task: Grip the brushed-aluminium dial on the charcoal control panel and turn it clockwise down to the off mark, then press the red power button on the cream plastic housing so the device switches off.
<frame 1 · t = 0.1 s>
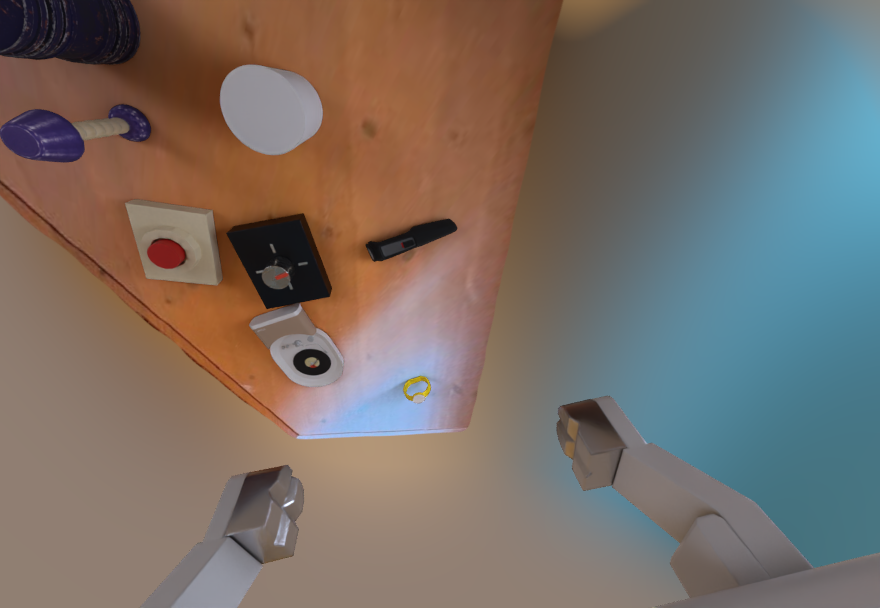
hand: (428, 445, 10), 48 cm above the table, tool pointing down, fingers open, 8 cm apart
dial: (278, 273, 52), point 5 cm above the table, hinge at 100.0°
white round cylinder: (291, 107, 45), on the table
toy lamp: (135, 124, 43), on the table
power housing: (182, 242, 52), on the table
watch: (415, 378, 75), on the table
electric trimmer: (408, 235, 57), on the table
record player: (304, 347, 66), on the table
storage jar: (90, 12, 37), on the table
control panel: (286, 259, 56), on the table
power button: (166, 254, 48), point 4 cm above the table, slide at 0.1 cm
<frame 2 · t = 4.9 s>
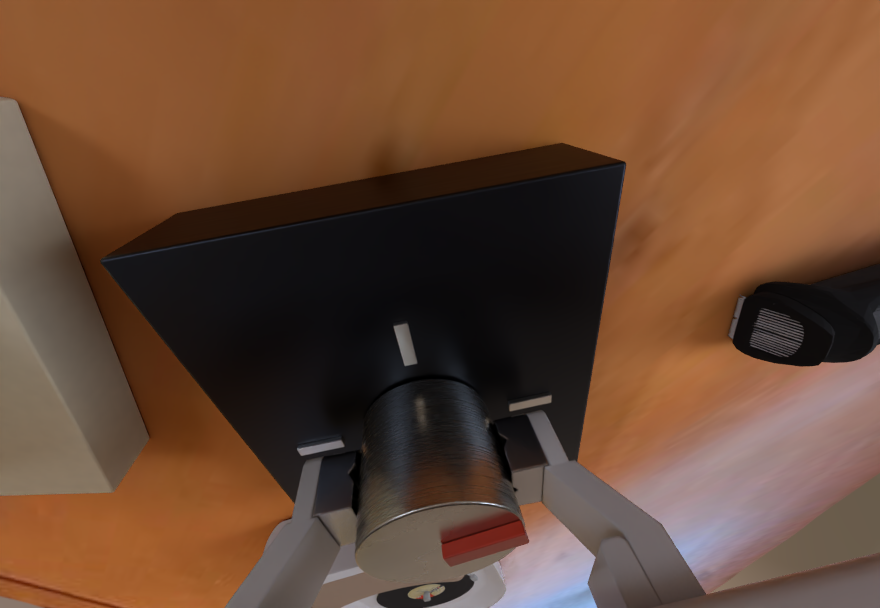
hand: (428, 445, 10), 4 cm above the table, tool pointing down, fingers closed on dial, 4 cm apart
dial: (434, 481, 9), point 5 cm above the table, hinge at 100.0°, touching gripper
record player: (410, 559, 24), on the table
control panel: (418, 358, 13), on the table
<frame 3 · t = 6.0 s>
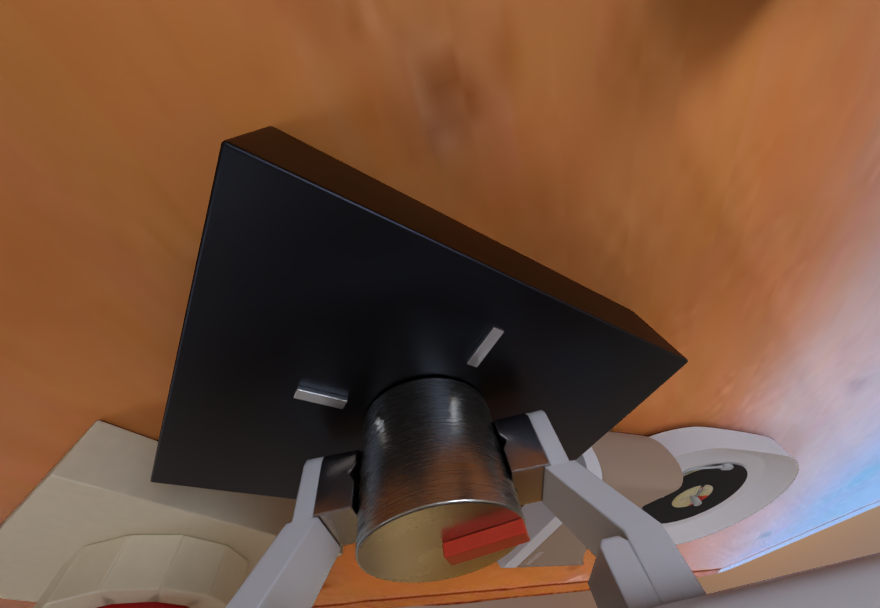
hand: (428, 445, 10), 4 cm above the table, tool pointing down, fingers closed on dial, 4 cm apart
dial: (434, 480, 9), point 5 cm above the table, hinge at 47.5°, touching gripper
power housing: (188, 518, 17), on the table
record player: (644, 478, 22), on the table
control panel: (418, 357, 13), on the table
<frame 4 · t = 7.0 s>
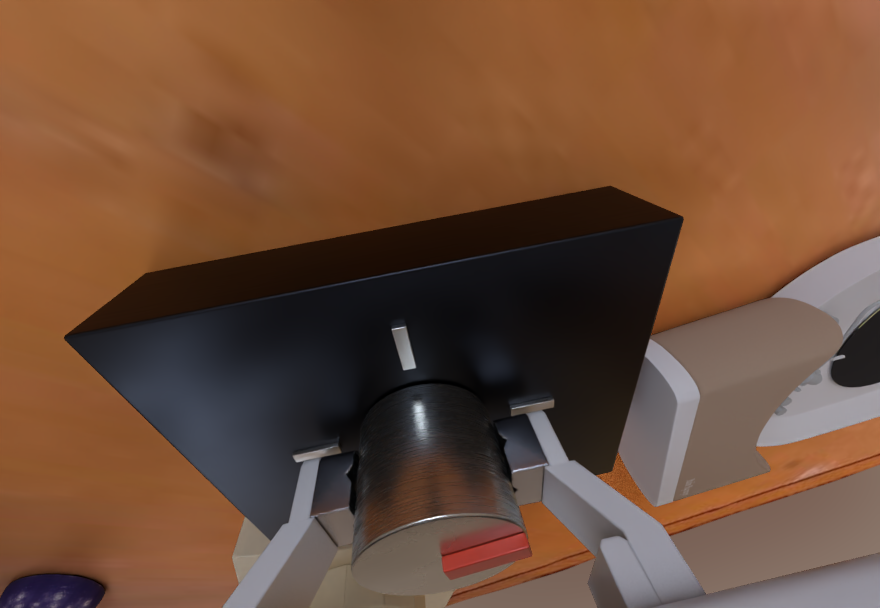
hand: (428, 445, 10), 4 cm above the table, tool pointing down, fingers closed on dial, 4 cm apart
dial: (433, 489, 9), point 5 cm above the table, hinge at 8.8°, touching gripper
toy lamp: (61, 582, 18), on the table
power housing: (362, 544, 20), on the table
record player: (816, 339, 16), on the table
control panel: (417, 361, 13), on the table
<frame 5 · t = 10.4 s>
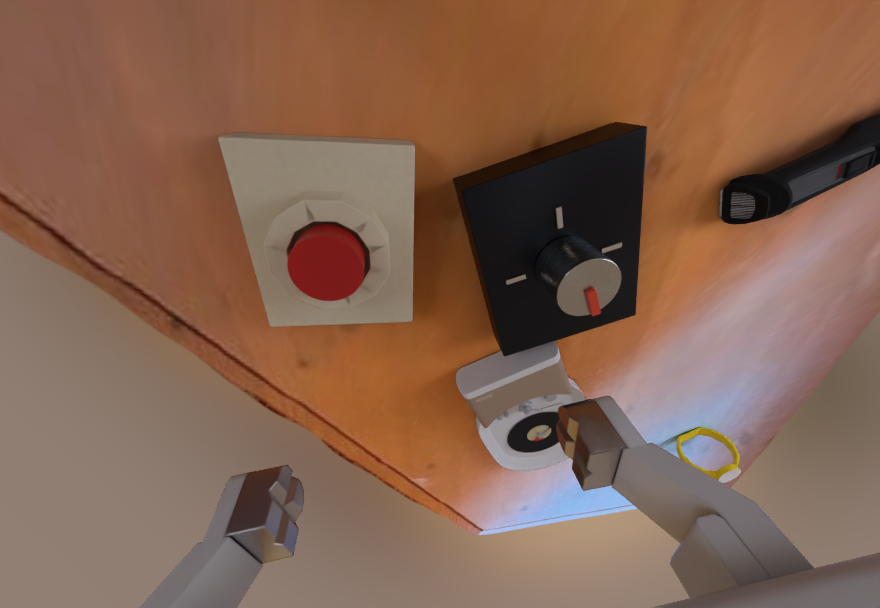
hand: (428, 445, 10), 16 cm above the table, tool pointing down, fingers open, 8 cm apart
dial: (576, 276, 21), point 5 cm above the table, hinge at 8.4°
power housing: (337, 234, 22), on the table
watch: (688, 431, 44), on the table
electric trimmer: (817, 152, 24), on the table
record player: (527, 408, 36), on the table
control panel: (545, 245, 25), on the table
power button: (328, 263, 19), point 4 cm above the table, slide at 0.1 cm
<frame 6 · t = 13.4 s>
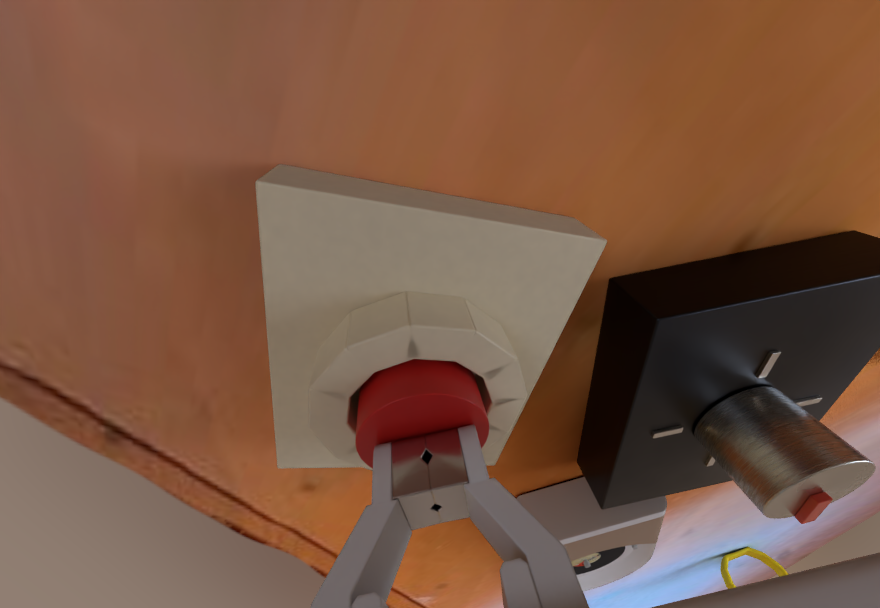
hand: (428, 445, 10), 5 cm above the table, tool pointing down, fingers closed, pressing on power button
dial: (776, 453, 14), point 5 cm above the table, hinge at 8.4°
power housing: (412, 335, 14), on the table
watch: (733, 549, 38), on the table
record player: (578, 532, 29), on the table
control panel: (686, 369, 18), on the table
power button: (421, 416, 11), point 4 cm above the table, slide at -0.3 cm, touching gripper
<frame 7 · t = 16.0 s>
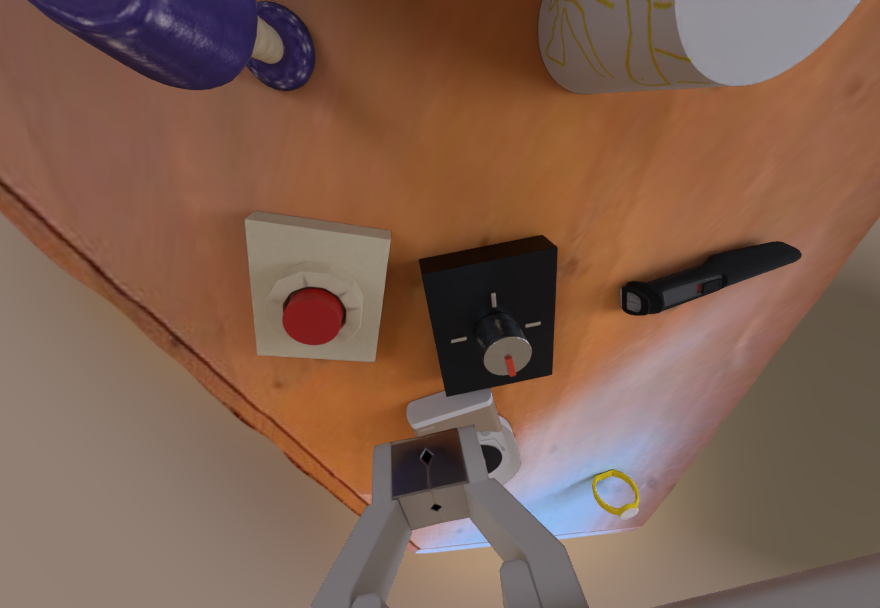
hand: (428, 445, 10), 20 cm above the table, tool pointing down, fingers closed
dial: (502, 344, 28), point 5 cm above the table, hinge at 8.4°
white round cylinder: (597, 20, 21), on the table
toy lamp: (285, 52, 20), on the table
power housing: (323, 288, 28), on the table
watch: (603, 472, 51), on the table
electric trimmer: (690, 270, 33), on the table
record player: (467, 440, 42), on the table
control panel: (487, 313, 32), on the table
power button: (313, 317, 25), point 4 cm above the table, slide at 0.1 cm
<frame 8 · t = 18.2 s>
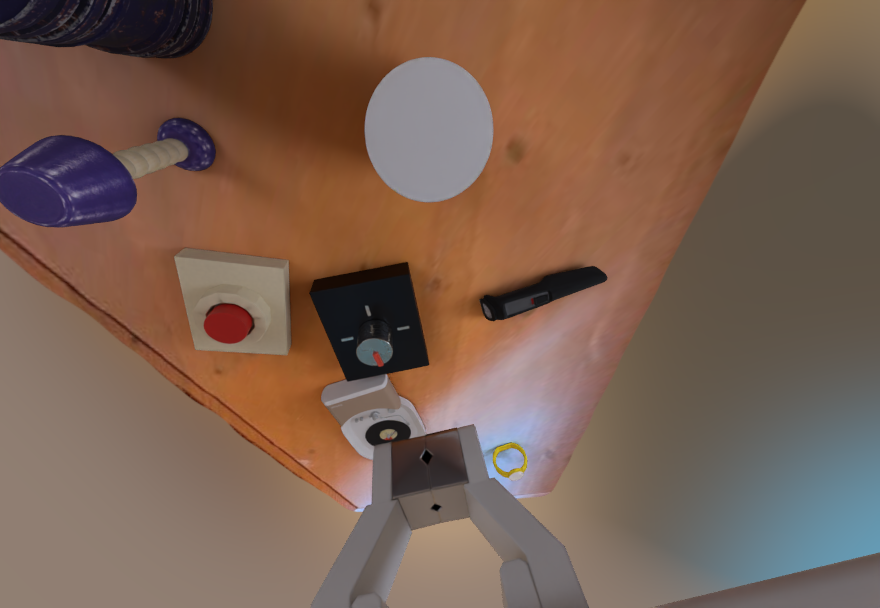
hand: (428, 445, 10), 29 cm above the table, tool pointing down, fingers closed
dial: (375, 343, 38), point 5 cm above the table, hinge at 8.4°
white round cylinder: (415, 121, 31), on the table
toy lamp: (194, 146, 30), on the table
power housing: (244, 301, 38), on the table
watch: (504, 445, 62), on the table
electric trimmer: (534, 286, 43), on the table
record player: (380, 416, 53), on the table
control panel: (375, 318, 42), on the table
power button: (228, 323, 35), point 4 cm above the table, slide at 0.1 cm
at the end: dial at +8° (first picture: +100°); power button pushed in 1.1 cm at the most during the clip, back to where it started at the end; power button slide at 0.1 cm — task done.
